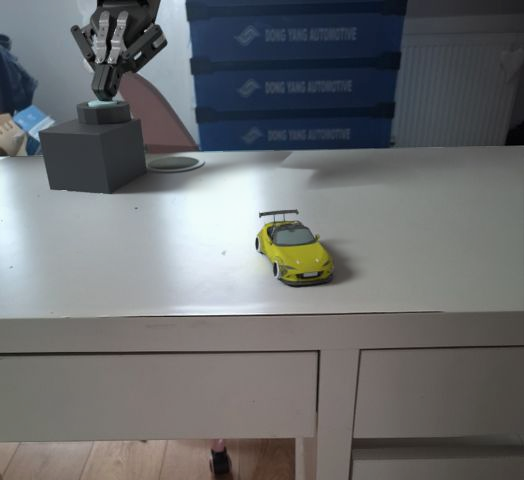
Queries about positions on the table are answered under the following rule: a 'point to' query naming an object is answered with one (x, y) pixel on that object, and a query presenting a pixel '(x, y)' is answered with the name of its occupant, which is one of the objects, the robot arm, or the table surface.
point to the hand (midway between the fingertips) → (102, 96)
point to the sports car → (294, 251)
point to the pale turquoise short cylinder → (102, 103)
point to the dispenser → (94, 150)
